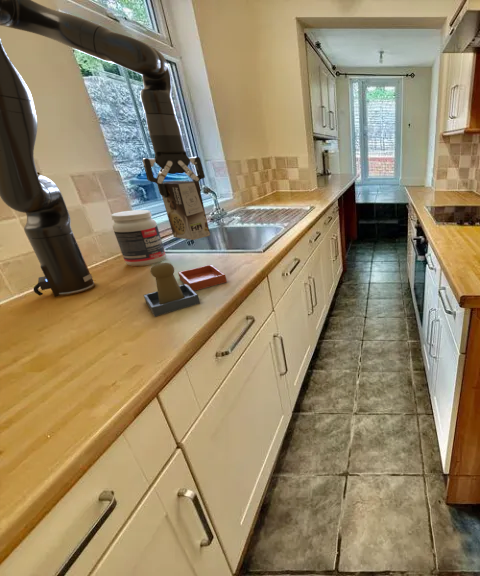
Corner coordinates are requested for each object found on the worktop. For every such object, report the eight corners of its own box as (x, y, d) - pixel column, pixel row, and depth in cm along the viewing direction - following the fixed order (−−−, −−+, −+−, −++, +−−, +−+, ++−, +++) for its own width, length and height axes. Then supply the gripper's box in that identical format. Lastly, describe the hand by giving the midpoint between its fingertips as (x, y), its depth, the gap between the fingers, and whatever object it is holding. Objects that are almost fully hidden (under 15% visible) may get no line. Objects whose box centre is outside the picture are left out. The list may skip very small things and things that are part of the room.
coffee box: (211, 235, 99) (199, 181, 92) (192, 240, 93) (178, 183, 87) (191, 232, 102) (178, 179, 96) (172, 237, 97) (157, 181, 90)
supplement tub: (163, 264, 117) (148, 214, 109) (121, 269, 112) (102, 217, 105) (170, 254, 128) (156, 208, 120) (131, 258, 123) (114, 211, 116)
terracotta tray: (191, 291, 95) (189, 283, 94) (179, 279, 104) (177, 272, 103) (226, 282, 102) (225, 274, 101) (212, 271, 110) (211, 264, 109)
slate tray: (154, 316, 81) (151, 307, 80) (146, 303, 88) (143, 294, 87) (200, 303, 88) (197, 294, 87) (188, 291, 95) (186, 283, 94)
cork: (176, 306, 85) (164, 268, 81) (154, 306, 85) (141, 268, 81) (189, 296, 91) (179, 260, 86) (168, 296, 91) (157, 260, 86)
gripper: (190, 134, 93) (203, 192, 100) (131, 133, 84) (150, 197, 91) (198, 134, 88) (212, 194, 95) (136, 133, 79) (156, 200, 86)
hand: (181, 195), depth 93 cm, fingers closed on coffee box, 8 cm apart
